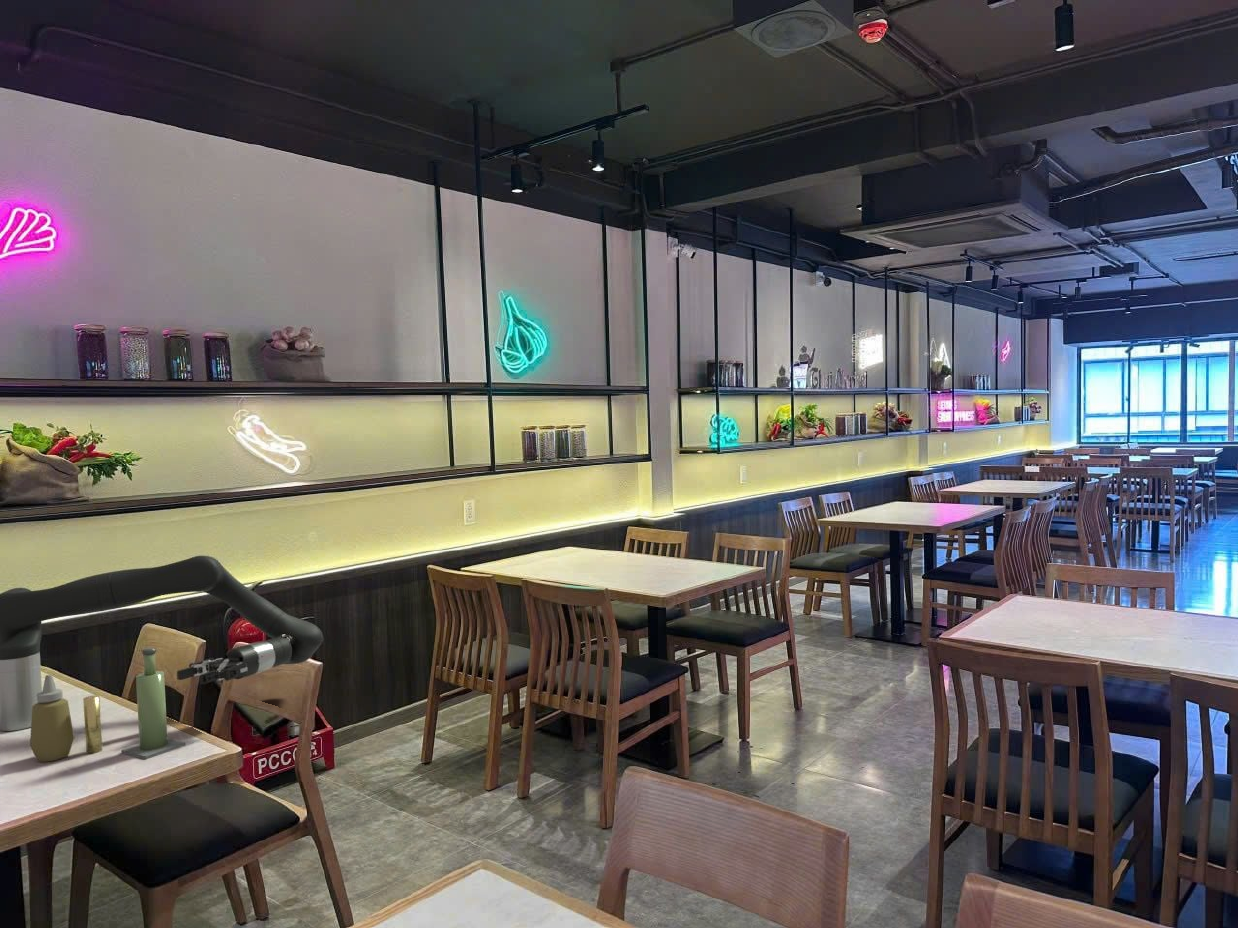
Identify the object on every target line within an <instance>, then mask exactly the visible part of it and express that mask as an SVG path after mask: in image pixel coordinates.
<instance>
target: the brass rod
mask: <svg viewBox="0 0 1238 928" xmlns="http://www.w3.org/2000/svg"><path fill="white" fill-rule="evenodd" d="M82 701H83V715H84V734H85V738H84V739H85V753H86V754H89V755H90V754H93V755H94V754H97V753H99V752H101V751H103V739H102V738H103V737H102V736H103V735H102V719H101V717H102V716H101V702H100V701H101V700H100V695H96V694H95V695H89V696H86V697H84V698H83V699H82Z"/></svg>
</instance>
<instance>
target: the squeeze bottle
mask: <svg viewBox="0 0 1238 928" xmlns="http://www.w3.org/2000/svg"><path fill="white" fill-rule="evenodd" d="M37 702H38V703H36V704H35V705H34V706H33V707H32V721H31V727H30V736H29V737H30V739H29V741H30V742H29V746H30V749H31V751H32V753H33V756H34V757H35V759H36V761H37V762H43V763H44V762H45V763H46V762H52V761H57V760H61V759H64V758H65V757H67V756H69V754H70V752H71V749H72V746H73V743H74V740H75V733H74V728H73V723H72V722H73V721H72V716H71V711H70V707H69V700H68V699H66V698H64V697H63V689H61V688H59V689H58V688H57V686H56V683H55V681H54V677H53V674H47V675H45V676H44V681H43V685H42V692H39V693H38V694H37Z"/></svg>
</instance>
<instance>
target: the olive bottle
mask: <svg viewBox="0 0 1238 928" xmlns="http://www.w3.org/2000/svg"><path fill="white" fill-rule="evenodd" d="M155 653H157V648H156V647H146V648H142V649H141V655H143V671H144V672H141V673H138V674H136V675H135V682H136V683H135V684H136V685H135V686H136V699H137V701H136V702H137V721H138V741H139V742H138V744H140V749H141V750H154V749H159V748H162V747H164V746H166V745H167V744H168V741H167V738H168V727H167V726H168V725H167V706H166V688H165V687H166V686H165V685H166V684H165V672H164V671H163V670H156V655H155Z"/></svg>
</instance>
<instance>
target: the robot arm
mask: <svg viewBox="0 0 1238 928" xmlns="http://www.w3.org/2000/svg"><path fill="white" fill-rule="evenodd" d="M195 592H196V593H200V592H201V593H202V592H203V593H206V594H208V595H211V596H213V597H214V598H216V599H218V600H220V601H222V602H223V603H225V604H226V605H228V606H229V607H230V608H232V609H233V610H234V611H235V612H237V613H238V614H239V615H240V616H241V617H242V618H243V619H245V620H246V621H247V622H248V623H250V624H251V626H254V627H255V628H256V629H258V630H259V631H261V632H262V633H263V634H264V635H266V636H268V637H270V639H266V640H262V641H256V642H251V643H248V644H244V645H241V646H237V647H234V648H231V649H229V650H228V651H226V654H225V657H224V658H223V657H220V658H216V659H214V658H213V657H210V658H207V659H203V660H200V661H199V660H198V661H196V662H192V663H189V665H188V667H186V668H181V669H179V670H177V672H176V677H177V680H179V681H182V680H186V679H189V678H193V677H198V676H199V683H200V684H202V685H206V684H209V683H213V682H215V681H223V680H224V681H226V682H227V681H230V680H233V679H234V680H241V679H243V678H247V677H250V676H254V675H257V674H260V673H263V672H265V671H267V670H269V669H271V668H272V669H273V668H275V667H279V666H281V665H299V664H302V663H304V662H306V661H309V660H310V659H311V658H312V656H313V655H314V654H315V652H317V650H318V649H319V647H320V646H321V645H322V643H323V641H324V635H323V632H322V630H321V629H320V628H319V627H318V626H317V625H316V624H314V623H312V622H309V621H306V620H303V619H301V618H298V617H295V616H293V615H290V614H287V613H286V612H284V611H283V610H282V609H281V608H279V607H278V606H277V605H275V604H273V603H272V602H270V601H269V600H267V599H265V598H264V597H263V596H261V595H259V594H258V593H256V592H254V591H253V590H252V589H250V588H248V587H247V586H245V585H244V584H243V583H242V582H240V581H239V580H238V579H237V578H235V576H234V575H232V574H231V573H230V572H229V570H227V568H226V567H224V566H223V565H222V563H220V561H219V560H218V559H216V558H215V557H213V556H211V555H210V556H209V555H202V554H201V555H196V556H193V557H190V558H187V559H184V560H180V561H176V562H173V563H172V562H171V563H168V564H164V565H159V566H154V567H142V568H141V567H140V568H131V569H130V568H129V569H123V570H114V571H109V572H105V573H99V574H95V575H89V576H85V577H83V578H82V577H81V578H79V579H76V580H73V581H70V582H67V583H64V584H61V585H57V586H54V587H50V588H45V589H39V590H38V589H37V590H31V589H28V588H26V587H15V588H11V589H8V590H5V591H3V592H1V593H0V731H1V732H12V731H18V730H19V731H20V730H24V729H28V728H31V721H32V707H33V706H34V705H35V704H36V703H38V702H37V694H38V693H39V692H42V691H43V685H42V684H43V683H42V668H41V666H42V665H41V654H40V653H41V652H40V650H41V649H40V646H41V645H40V644H41V640H42V633H43V631H42V627H43V626H42V623H43V622H44V621H48V620H50V619H56V618H62V617H71V616H79V615H86V614H92V613H97V612H98V613H100V612H105V611H111V610H117V609H121V608H125V607H129V606H132V605H136V604H139V603H143V602H147V601H148V600H152V599H155V598H158V597H161V596H166V595H174V594H182V593H195ZM283 635H287V636H290V637H291V638H290V639H289V640H288V639H287V638H286V637H282V636H283ZM207 671H208V672H207Z"/></svg>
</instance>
